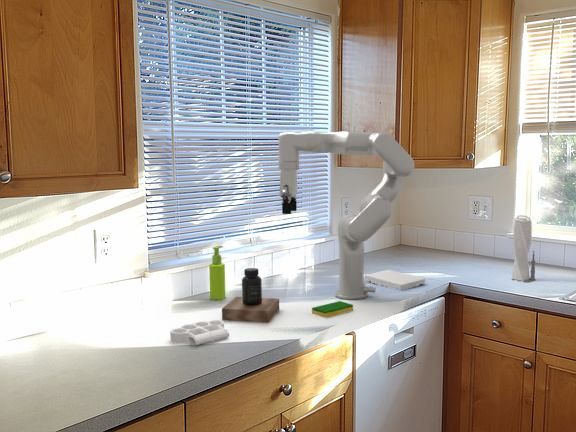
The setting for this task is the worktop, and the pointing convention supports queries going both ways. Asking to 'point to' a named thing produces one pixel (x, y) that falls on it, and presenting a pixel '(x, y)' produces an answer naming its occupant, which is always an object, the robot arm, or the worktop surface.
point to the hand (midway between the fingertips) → (289, 212)
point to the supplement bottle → (251, 287)
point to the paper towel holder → (522, 250)
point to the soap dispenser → (217, 276)
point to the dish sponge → (332, 309)
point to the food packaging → (394, 279)
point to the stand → (250, 310)
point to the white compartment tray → (199, 332)
